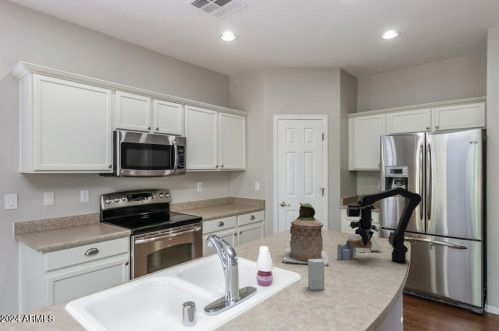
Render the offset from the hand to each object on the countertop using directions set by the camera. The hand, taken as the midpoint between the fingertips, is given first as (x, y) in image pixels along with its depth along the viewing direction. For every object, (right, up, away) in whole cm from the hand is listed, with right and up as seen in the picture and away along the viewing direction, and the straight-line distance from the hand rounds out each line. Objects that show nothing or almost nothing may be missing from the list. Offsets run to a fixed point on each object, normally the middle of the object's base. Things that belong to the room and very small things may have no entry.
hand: (366, 245), depth 168 cm
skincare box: (-37, -8, -39) cm, 54 cm away
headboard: (-8, -8, +6) cm, 13 cm away
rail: (-3, -2, +2) cm, 4 cm away
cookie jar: (-33, -9, +3) cm, 34 cm away
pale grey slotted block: (+7, -9, +21) cm, 24 cm away
